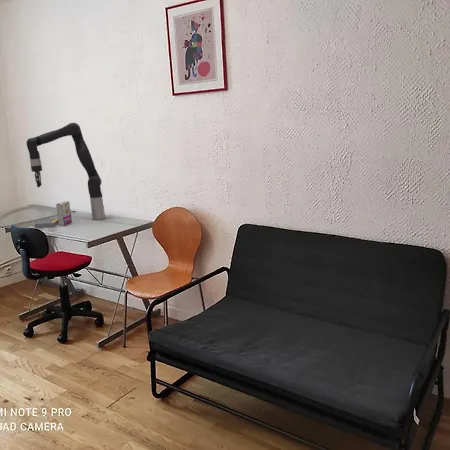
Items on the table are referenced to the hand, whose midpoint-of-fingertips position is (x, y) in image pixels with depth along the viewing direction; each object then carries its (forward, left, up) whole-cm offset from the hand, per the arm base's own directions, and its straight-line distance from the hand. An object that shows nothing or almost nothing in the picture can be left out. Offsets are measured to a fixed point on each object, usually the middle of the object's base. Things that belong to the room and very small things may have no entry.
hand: (39, 186), depth 351 cm
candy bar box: (-19, +11, -28) cm, 35 cm away
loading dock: (-6, +11, -28) cm, 30 cm away
